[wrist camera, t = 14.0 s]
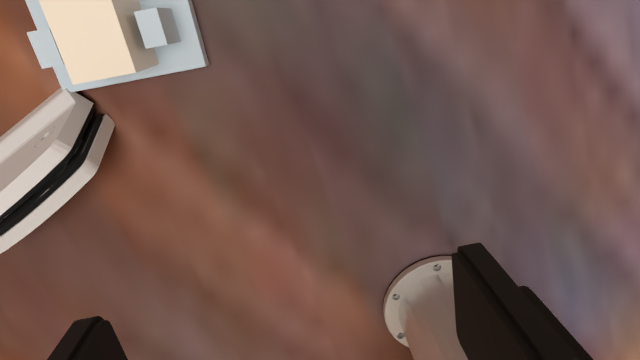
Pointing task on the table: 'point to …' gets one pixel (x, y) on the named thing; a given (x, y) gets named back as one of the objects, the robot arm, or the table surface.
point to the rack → (156, 30)
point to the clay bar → (98, 38)
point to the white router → (48, 161)
